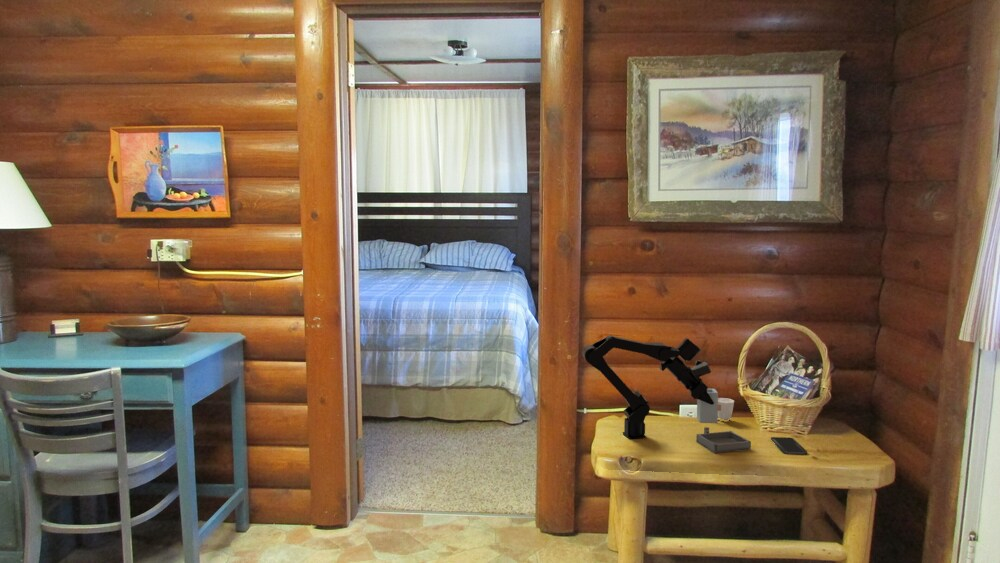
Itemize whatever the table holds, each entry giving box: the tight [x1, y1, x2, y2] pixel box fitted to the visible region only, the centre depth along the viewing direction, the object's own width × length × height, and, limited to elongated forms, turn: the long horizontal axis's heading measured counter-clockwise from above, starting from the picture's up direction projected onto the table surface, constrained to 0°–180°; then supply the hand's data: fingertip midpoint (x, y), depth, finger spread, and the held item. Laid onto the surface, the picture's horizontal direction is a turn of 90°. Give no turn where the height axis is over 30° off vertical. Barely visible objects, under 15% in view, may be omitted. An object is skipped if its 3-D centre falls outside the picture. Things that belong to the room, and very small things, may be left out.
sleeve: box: [696, 388, 721, 424], centre depth 233 cm, size 8×6×11 cm
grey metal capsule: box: [703, 426, 710, 434], centre depth 234 cm, size 2×2×3 cm
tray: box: [695, 430, 752, 454], centre depth 223 cm, size 14×12×3 cm
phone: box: [770, 436, 808, 456], centre depth 222 cm, size 8×1×15 cm
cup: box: [718, 397, 735, 420], centre depth 251 cm, size 7×10×8 cm
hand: (711, 401), depth 232 cm, fingers closed on sleeve, 6 cm apart
